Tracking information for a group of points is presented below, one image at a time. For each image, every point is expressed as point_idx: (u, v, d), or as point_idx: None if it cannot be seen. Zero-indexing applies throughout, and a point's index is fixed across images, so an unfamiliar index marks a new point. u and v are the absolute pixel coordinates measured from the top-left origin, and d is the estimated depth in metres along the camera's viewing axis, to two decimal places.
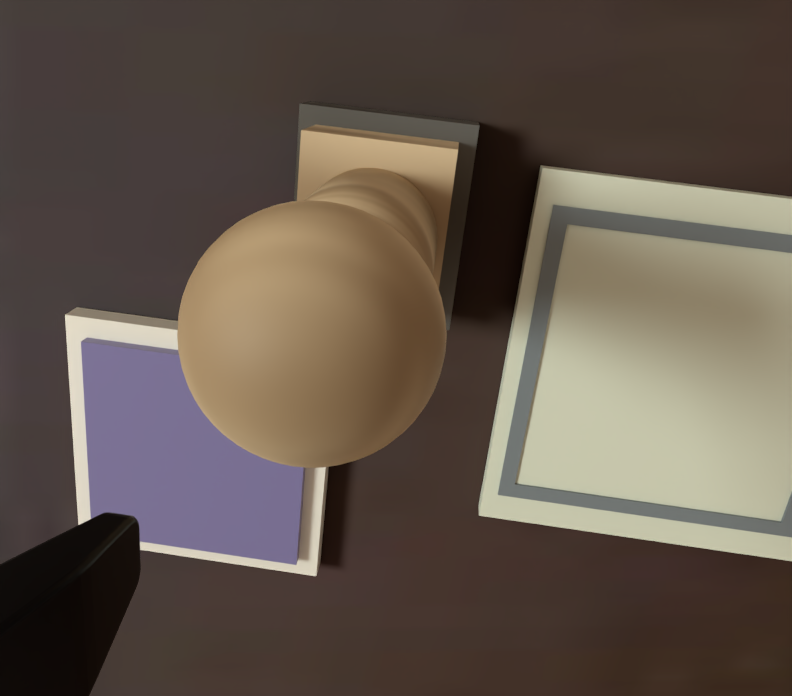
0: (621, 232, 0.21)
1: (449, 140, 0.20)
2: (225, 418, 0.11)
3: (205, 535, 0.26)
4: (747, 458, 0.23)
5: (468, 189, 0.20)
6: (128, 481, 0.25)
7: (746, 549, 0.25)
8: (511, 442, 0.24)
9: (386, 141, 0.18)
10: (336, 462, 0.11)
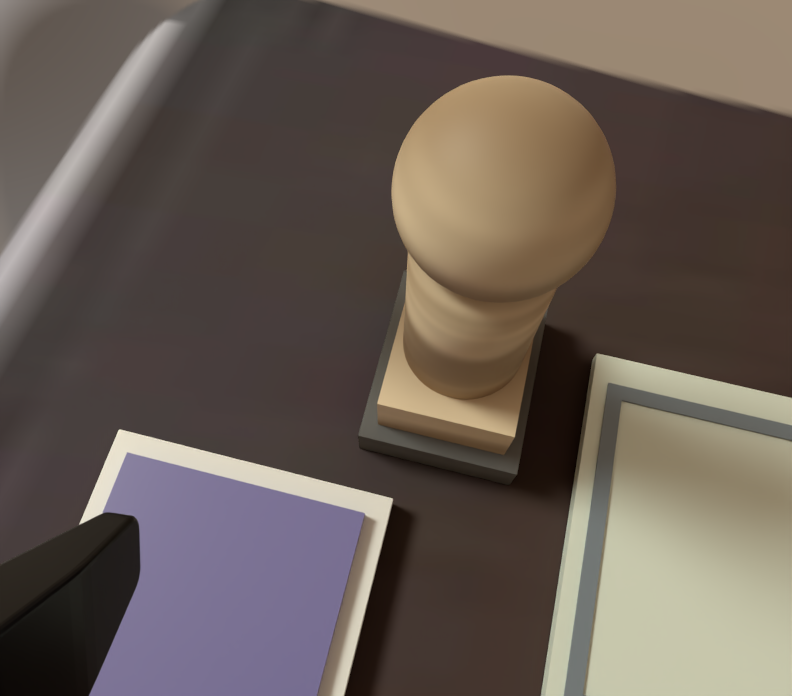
0: (670, 413, 0.23)
1: None
2: (455, 156, 0.12)
3: None
4: None
5: (538, 348, 0.23)
6: None
7: None
8: (577, 634, 0.21)
9: None
10: (537, 227, 0.12)
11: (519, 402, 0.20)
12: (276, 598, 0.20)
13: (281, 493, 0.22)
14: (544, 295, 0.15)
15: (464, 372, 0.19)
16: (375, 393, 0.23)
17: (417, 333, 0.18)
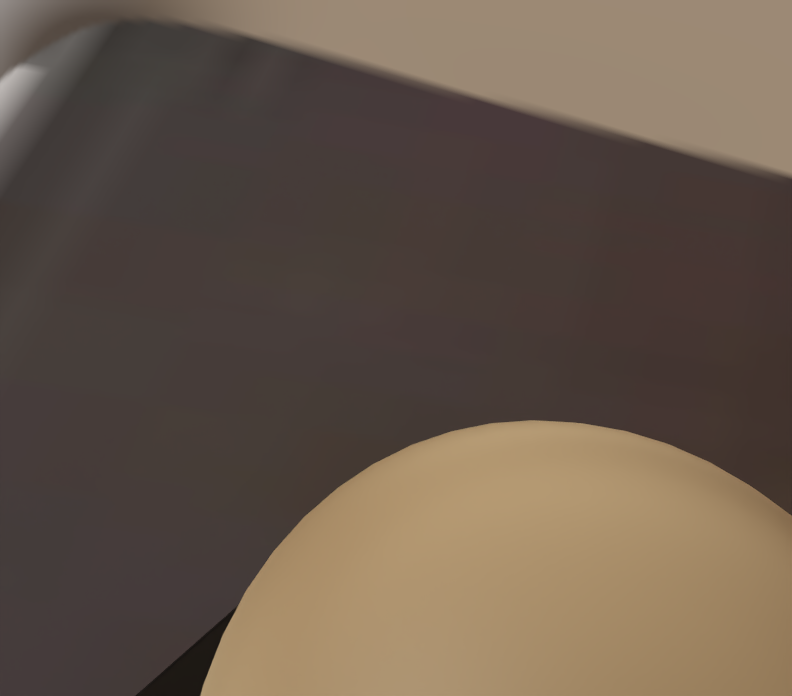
0: None
1: None
2: None
3: None
4: None
5: None
6: None
7: None
8: None
9: None
10: None
11: None
12: None
13: None
14: None
15: None
16: None
17: None
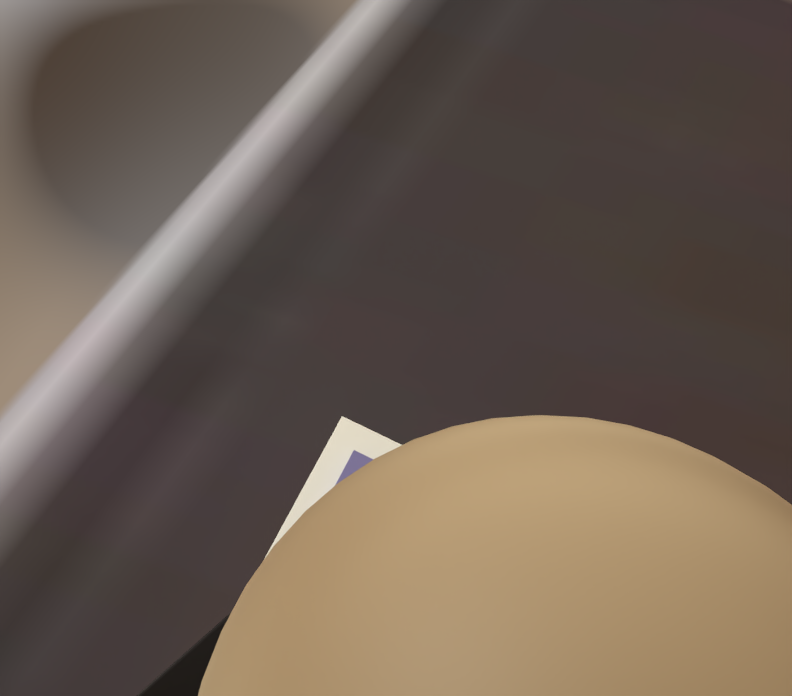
0: None
1: None
2: None
3: None
4: None
5: None
6: None
7: None
8: None
9: None
10: None
11: None
12: None
13: None
14: None
15: None
16: None
17: None
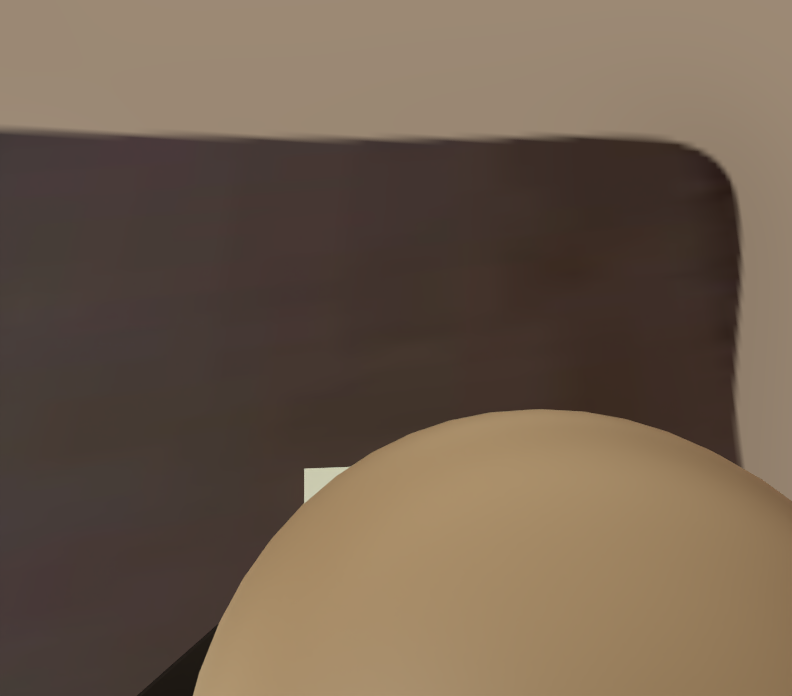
0: None
1: None
2: None
3: None
4: None
5: None
6: None
7: None
8: None
9: None
10: None
11: None
12: None
13: None
14: None
15: None
16: None
17: None
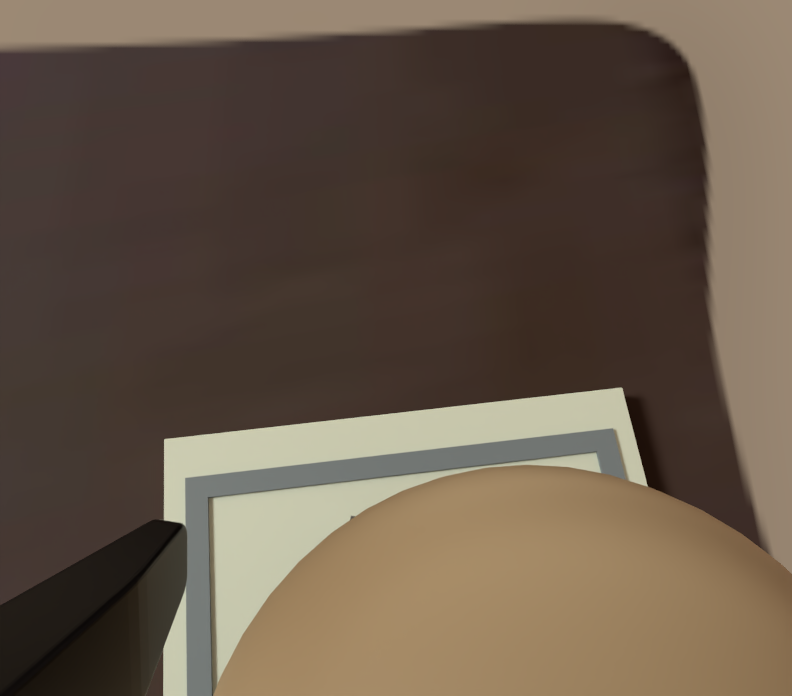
0: (279, 491, 0.16)
1: None
2: None
3: None
4: None
5: None
6: None
7: None
8: None
9: None
10: None
11: None
12: None
13: None
14: None
15: None
16: None
17: None
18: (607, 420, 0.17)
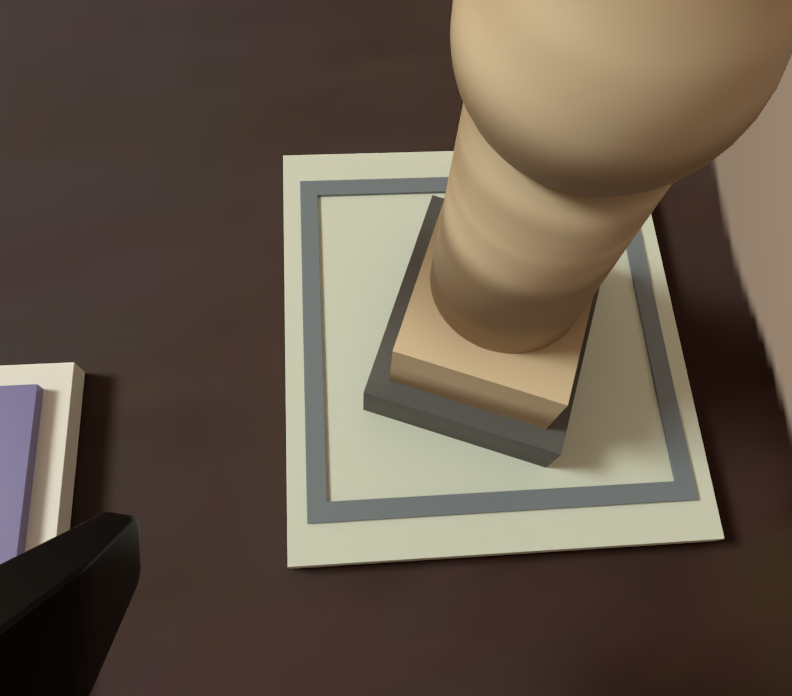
0: (371, 195, 0.21)
1: None
2: None
3: None
4: (595, 405, 0.19)
5: (594, 301, 0.19)
6: None
7: (655, 534, 0.18)
8: (311, 443, 0.19)
9: None
10: (694, 52, 0.08)
11: (575, 362, 0.16)
12: None
13: None
14: (654, 197, 0.11)
15: (514, 312, 0.14)
16: (388, 342, 0.18)
17: (457, 255, 0.14)
18: None
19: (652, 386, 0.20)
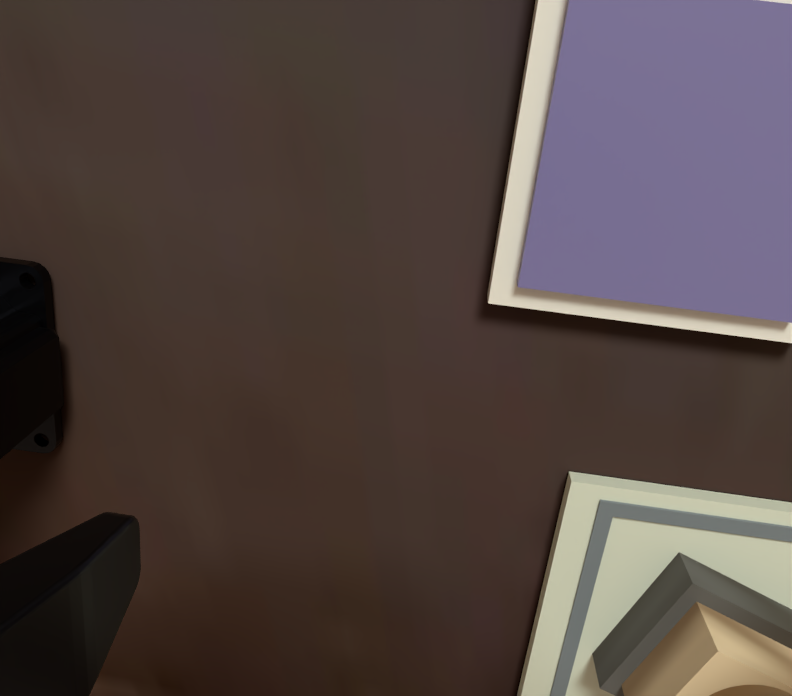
0: None
1: None
2: None
3: (567, 166, 0.18)
4: None
5: None
6: (664, 58, 0.17)
7: None
8: (663, 512, 0.23)
9: None
10: None
11: None
12: (705, 243, 0.19)
13: None
14: None
15: None
16: (729, 607, 0.22)
17: None
18: None
19: None
